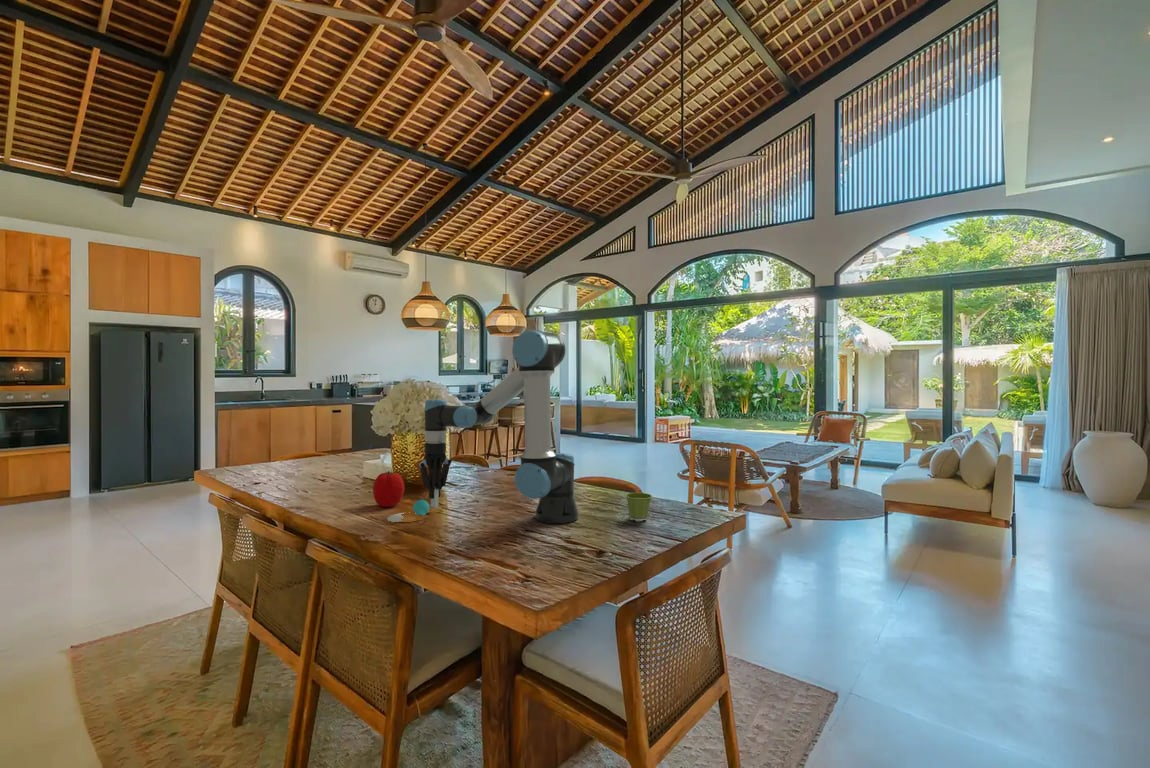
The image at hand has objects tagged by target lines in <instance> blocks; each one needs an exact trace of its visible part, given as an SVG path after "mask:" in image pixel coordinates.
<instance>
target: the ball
mask: <svg viewBox="0 0 1150 768" xmlns="http://www.w3.org/2000/svg"><path fill="white" fill-rule="evenodd" d="M412 508H413V509H412V510H413V512H415V514H417V515H420V516H421V515H426V514H427V513H429V511H430V504H429V502H428V501H427V500H425V499H419V500H416V501H415V503H414V504H413V507H412Z"/></svg>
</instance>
